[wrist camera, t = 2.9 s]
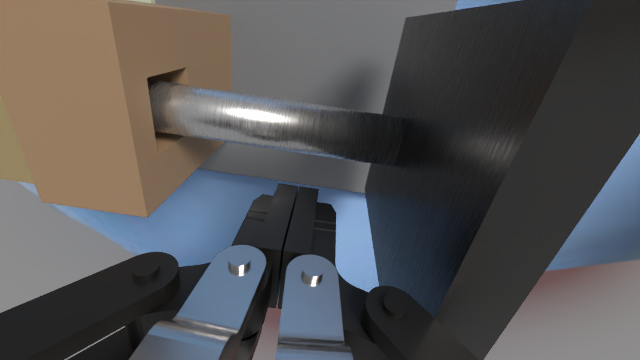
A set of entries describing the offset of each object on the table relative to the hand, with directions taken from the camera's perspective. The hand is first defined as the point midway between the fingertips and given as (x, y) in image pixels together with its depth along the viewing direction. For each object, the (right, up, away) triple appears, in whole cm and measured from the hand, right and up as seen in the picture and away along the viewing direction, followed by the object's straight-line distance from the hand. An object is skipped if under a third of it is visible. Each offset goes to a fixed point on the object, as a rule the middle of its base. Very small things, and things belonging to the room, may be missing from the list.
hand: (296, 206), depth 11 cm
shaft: (-4, +6, +4) cm, 8 cm away
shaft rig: (-6, +8, +8) cm, 13 cm away
